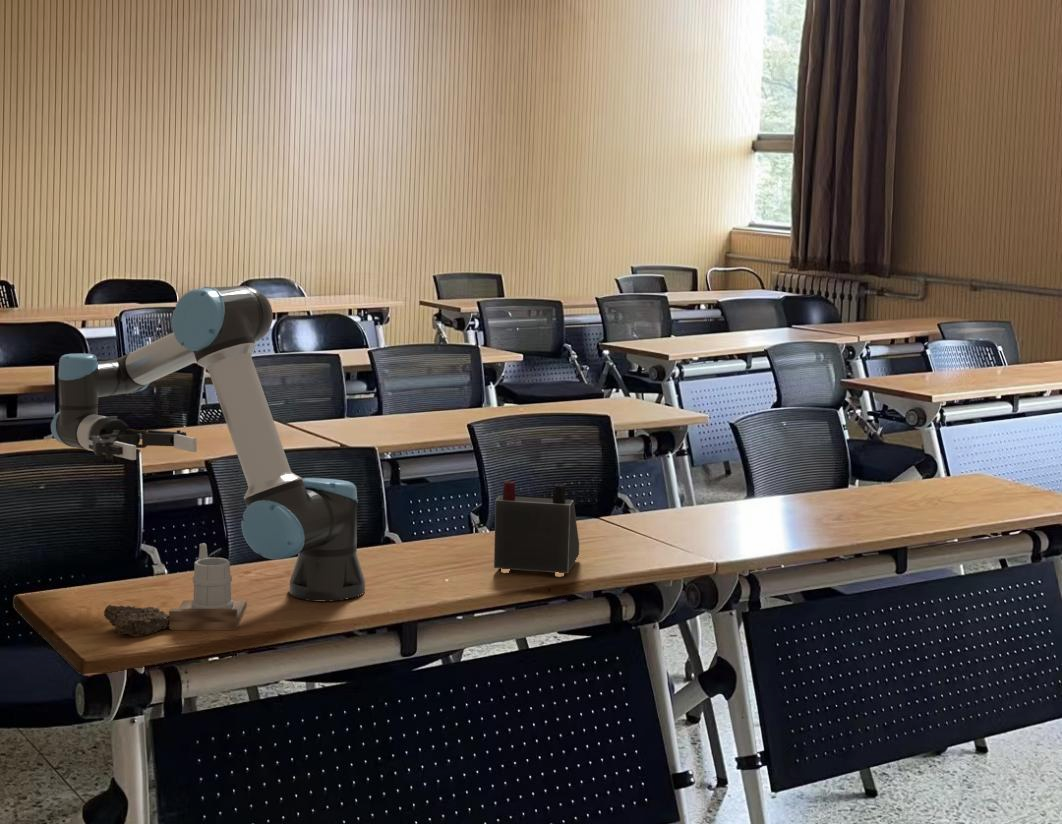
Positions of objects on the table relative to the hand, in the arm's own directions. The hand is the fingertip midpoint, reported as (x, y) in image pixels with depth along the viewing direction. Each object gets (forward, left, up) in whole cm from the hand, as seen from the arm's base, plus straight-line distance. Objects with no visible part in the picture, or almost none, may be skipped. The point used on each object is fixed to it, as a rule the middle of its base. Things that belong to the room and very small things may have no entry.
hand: (165, 448), depth 266 cm
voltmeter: (-75, -27, -30) cm, 85 cm away
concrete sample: (+1, +20, -30) cm, 36 cm away
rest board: (-10, +13, -30) cm, 34 cm away
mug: (-10, +12, -29) cm, 33 cm away
